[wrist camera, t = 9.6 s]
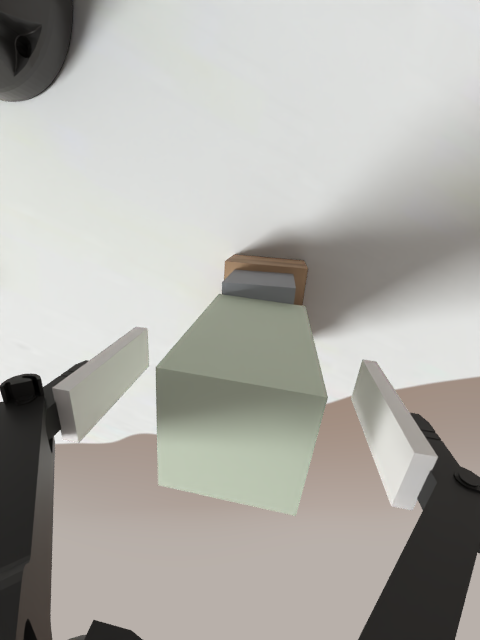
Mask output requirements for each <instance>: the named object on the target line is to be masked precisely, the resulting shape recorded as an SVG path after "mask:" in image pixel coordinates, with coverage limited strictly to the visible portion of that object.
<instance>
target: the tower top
mask: <svg viewBox="0 0 480 640" xmlns="http://www.w3.org/2000/svg"><path fill="white" fill-rule="evenodd" d="M295 291H296V286H295V281H294V275H293V274H288V273H275V272H262V271H249V270H234V271H233V272H232V273H231V274H230V275H229V276H228V277H227V278H226V279H225V280H224V281H223V282H222V294H223V295H230V296H237V297H244V298H251V299H258V300H266V301H273V302H280V303H287V304H294V299H295Z"/></svg>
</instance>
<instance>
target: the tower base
mask: <svg viewBox="0 0 480 640" xmlns="http://www.w3.org/2000/svg"><path fill="white" fill-rule="evenodd" d="M234 270H249V271H262V272H275V273H288V274H293V275H294V281H295V286H296V291H295V299H294V305H301V306H302V303H303V297H304V291H305V284H306V278H307V272H308V268H307V266H306V264H305V262H304V260H293V259H281V258H270V257H259V256H247V255H236V254H234V255H233V256H232V257H230V258H229V259H227V260H226V261H225V273H224V280H225V279H226V278H227V277H228V276H229V275H230V274H231V273H232V272H233V271H234Z"/></svg>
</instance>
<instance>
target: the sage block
mask: <svg viewBox="0 0 480 640" xmlns="http://www.w3.org/2000/svg"><path fill="white" fill-rule="evenodd" d="M327 398H328V396H327V392H326V388H325V384H324V380H323V376H322V372H321V368H320V364H319V360H318V356H317V352H316V348H315V343H314V339H313V335H312V331H311V327H310V323H309V319H308V315H307V311H306V307H305V306H301V305H294V304H287V303H280V302H273V301H266V300H258V299H251V298H244V297H237V296H230V295H223V294H219V295H218V296H217V297H216V298H215V299H214V300H213V302H212V303H211V304H210V305H209V306H208V307H207V308H206V310H205V311H204V312H203V313H202V314H201V315H200V317H199V318H198V319H197V320H196V321H195V322H194V324H193V325H192V326H191V327H190V328H189V329H188V330H187V332H186V333H185V334H184V335H183V336H182V337H181V339H180V340H179V341H178V342H177V343H176V344H175V346H174V347H173V348H172V349H171V350H170V351H169V353H168V354H167V355H166V356H165V357H164V358H163V359H162V361H161V362H160V363H159V364H158V365H157V366H156V405H157V453H158V454H157V457H158V485H160V486H164V487H169V488H173V489H178V490H182V491H187V492H191V493H196V494H200V495H205V496H209V497H214V498H218V499H222V500H227V501H232V502H236V503H241V504H245V505H250V506H254V507H258V508H263V509H268V510H271V511H276V512H281V513H285V514H290V515H294V516H296V513H297V510H298V506H299V502H300V499H301V495H302V491H303V487H304V484H305V480H306V476H307V472H308V469H309V465H310V461H311V458H312V454H313V450H314V447H315V443H316V439H317V435H318V432H319V428H320V424H321V420H322V417H323V413H324V409H325V406H326V402H327Z"/></svg>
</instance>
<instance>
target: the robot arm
mask: <svg viewBox="0 0 480 640" xmlns="http://www.w3.org/2000/svg"><path fill="white" fill-rule="evenodd" d="M72 18H73V5H72V0H0V100H2V101H9V102H16V101H23V100H27V99H30V98H32V97H34V96H36V95H38V94H39V93H41V92H42V91H43V90H45V89H46V88H47V87H48V86H49V85H50V84H51V83H52V81H53V80H54V79H55V77H56V76H57V74H58V72H59V71H60V69H61V67H62V65H63V62H64V60H65V57H66V54H67V51H68V47H69V43H70V37H71V30H72ZM148 367H149V353H148V331H147V328H141V327H135V328H134V329H132V330H131V331H129V332H128V333H127V334H125V335H124V336H123V337H121V338H120V339H118V340H117V341H116V342H114V343H113V344H112V345H110V346H109V347H108V348H106V349H105V350H103V351H102V352H101V353H99V354H98V355H97V356H95V357H94V358H92V359H91V360H90V361H83V362H81V363H78V364H76V365H74V366H73V367H71V368H70V369H69V370H68V371H66V372H64V373H63V374H61V376H59V377H57V378H56V379H54V380H53V381H51V382H50V383H49V384H47V385H46V386H44V387H43V386H42V382H41V378H40V376H39V375H37V374H22V375H18V376H15V377H12V378H10V379H7V380H6V381H5V382H3V383H2V384H1V385H0V391H1V394H2V398H3V401H4V402H0V640H52V633H51V622H50V606H51V605H50V604H51V570H52V533H53V528H52V527H53V493H54V456H55V440H54V435H55V434H56V433H57V432H58V431H59V430H61V434H62V439H63V440H66V441H71V442H76V443H79V442H80V441H81V440H82V439H83V438H84V437H85V436H86V434H87V433H88V432H89V431H90V430H91V429H92V428H93V427H94V426H95V425H96V424H97V422H98V421H99V420H100V419H101V418H102V417H103V416H104V415H105V414H106V413H107V412H108V410H109V409H110V408H111V407H112V406H113V405H114V404H115V403H116V402H117V401H118V400H119V398H120V397H121V396H122V395H123V394H124V393H125V392H126V391H127V390H128V389H129V388H130V386H131V385H132V384H133V383H134V382H135V381H136V380H137V379H138V378H139V377H140V376H141V374H142V373H143V372H144V371H145V370H146V369H147V368H148ZM351 399H352V402H353V405H354V407H355V410H356V413H357V415H358V418H359V421H360V423H361V426H362V429H363V432H364V434H365V437H366V440H367V442H368V445H369V448H370V450H371V453H372V456H373V458H374V461H375V464H376V466H377V469H378V472H379V474H380V477H381V480H382V482H383V485H384V488H385V490H386V493H387V496H388V498H389V501H390V504H391V506H393V507H398V508H403V509H408V510H413V508H414V506H415V504H416V502H417V500H418V501H419V503H420V505H421V507H422V509H423V512H422V514H421V516H420V518H419V520H418V522H417V524H416V526H415V528H414V530H413V532H412V534H411V536H410V538H409V540H408V542H407V544H406V546H405V547H404V550H403V552H402V553H401V555H400V558H399V559H398V562H397V564H396V565H395V568H394V569H393V571H392V573H391V575H390V577H389V580H388V581H387V583H386V586H385V587H384V589H383V591H382V593H381V596H380V597H379V599H378V601H377V603H376V605H375V607H374V609H373V611H372V613H371V615H370V617H369V619H368V621H367V623H366V625H365V627H364V629H363V631H362V633H361V635H360V637H359V639H358V640H455V637H456V633H457V629H458V625H459V621H460V617H461V614H462V610H463V606H464V602H465V598H466V594H467V590H468V586H469V583H470V579H471V575H472V571H473V567H474V563H475V560H476V556H477V552H478V553H480V477H478V476H477V475H475V474H474V473H473V472H471V471H469V470H467V469H465V468H463V467H460V466H459V464H458V463H457V461H456V460H455V459H454V458H453V456H452V454H451V453H450V451H449V450H448V449H447V447H446V446H445V445H444V443H443V442H442V441H441V439H440V437H439V436H438V435H437V434H436V433H435V430H434V429H433V428H432V426H431V425H430V424H429V422H427V421H426V420H425V419H424V418H423V417H421V416H420V415H419V414H415V413H409V411H408V410H407V409H406V407H405V405H404V404H403V402H402V400H401V399H400V397H399V396H398V394H397V393H396V391H395V390H394V388H393V387H392V385H391V383H390V382H389V380H388V379H387V377H386V376H385V374H384V373H383V371H382V370H381V368H380V366H379V365H378V363H377V362H375V361H369V360H362V363H361V367H360V370H359V374H358V377H357V381H356V384H355V388H354V391H353V394H352V398H351ZM69 640H142V639H141V638H140V637H139V636H137V635H136V634H135V633H134V632H132V631H131V630H128V629H124V628H121V627H117V626H113V625H110V624H106V623H103V622H99V621H96V620H93V622H92V625H91V627H90V629H89V631H88V633H87V635H81V636H78V637H75V638H71V639H69Z"/></svg>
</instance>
